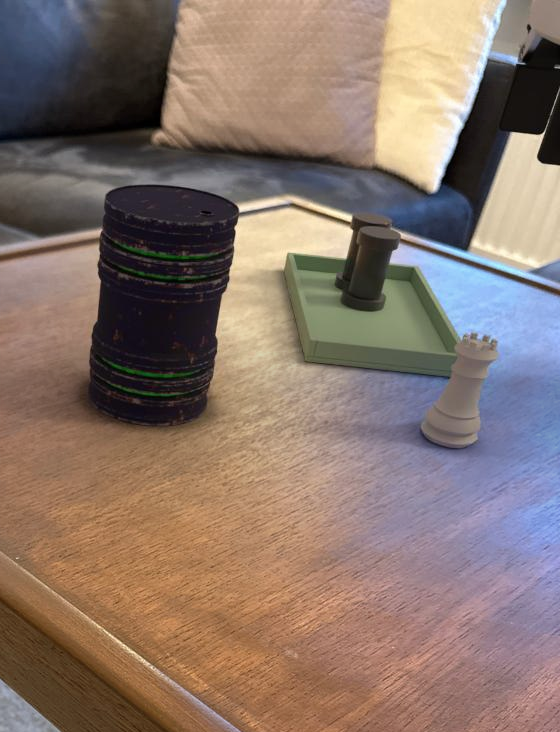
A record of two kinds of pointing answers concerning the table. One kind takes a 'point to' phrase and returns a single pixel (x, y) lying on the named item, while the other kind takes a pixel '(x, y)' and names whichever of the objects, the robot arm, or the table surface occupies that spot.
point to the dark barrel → (159, 301)
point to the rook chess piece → (461, 395)
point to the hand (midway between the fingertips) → (539, 147)
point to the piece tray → (370, 320)
